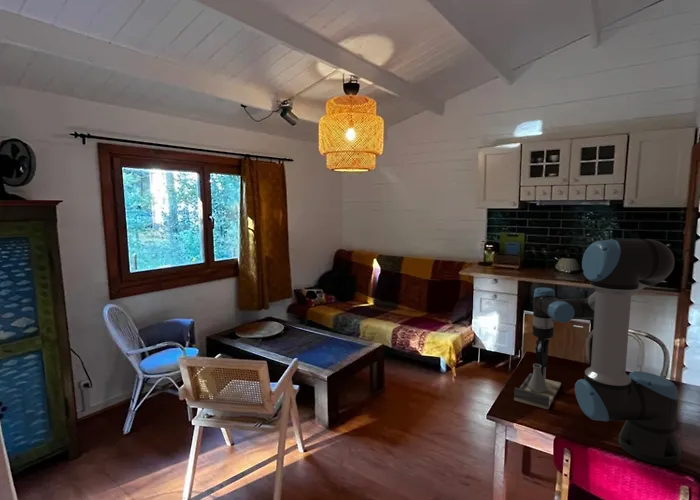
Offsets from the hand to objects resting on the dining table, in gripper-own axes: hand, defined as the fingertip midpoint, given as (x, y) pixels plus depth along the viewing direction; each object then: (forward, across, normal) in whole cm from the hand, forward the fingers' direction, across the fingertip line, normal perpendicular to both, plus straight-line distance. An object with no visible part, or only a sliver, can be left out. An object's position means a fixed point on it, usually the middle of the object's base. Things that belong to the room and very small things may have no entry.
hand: (541, 382), depth 160 cm
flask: (+1, -4, 0) cm, 4 cm away
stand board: (+3, -4, 0) cm, 5 cm away
